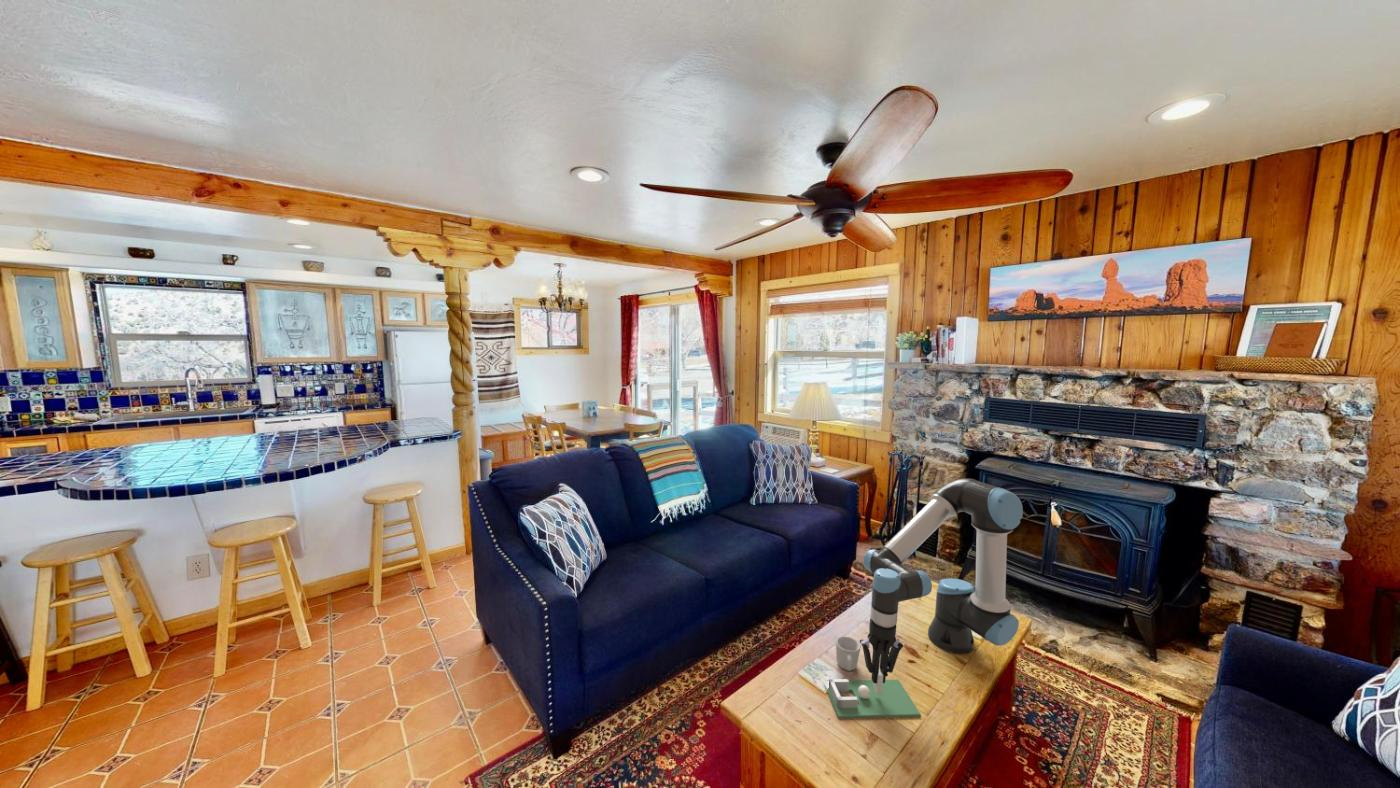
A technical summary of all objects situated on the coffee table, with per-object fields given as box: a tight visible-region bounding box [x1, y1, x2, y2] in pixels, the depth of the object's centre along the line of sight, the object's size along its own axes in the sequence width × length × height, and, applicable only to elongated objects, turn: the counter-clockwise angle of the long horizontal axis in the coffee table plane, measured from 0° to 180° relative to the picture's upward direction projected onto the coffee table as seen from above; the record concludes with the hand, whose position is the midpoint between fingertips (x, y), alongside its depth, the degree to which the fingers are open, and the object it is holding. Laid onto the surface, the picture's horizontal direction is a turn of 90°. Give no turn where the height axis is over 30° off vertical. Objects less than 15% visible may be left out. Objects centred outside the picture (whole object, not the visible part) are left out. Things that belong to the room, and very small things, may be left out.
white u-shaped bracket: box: [828, 678, 858, 708], centre depth 142 cm, size 6×8×4 cm
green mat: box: [826, 679, 922, 719], centre depth 142 cm, size 25×14×1 cm, turn 93°
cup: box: [835, 635, 861, 671], centre depth 155 cm, size 11×8×8 cm
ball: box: [858, 685, 870, 699], centre depth 142 cm, size 4×4×4 cm
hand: (877, 691), depth 142 cm, fingers closed
